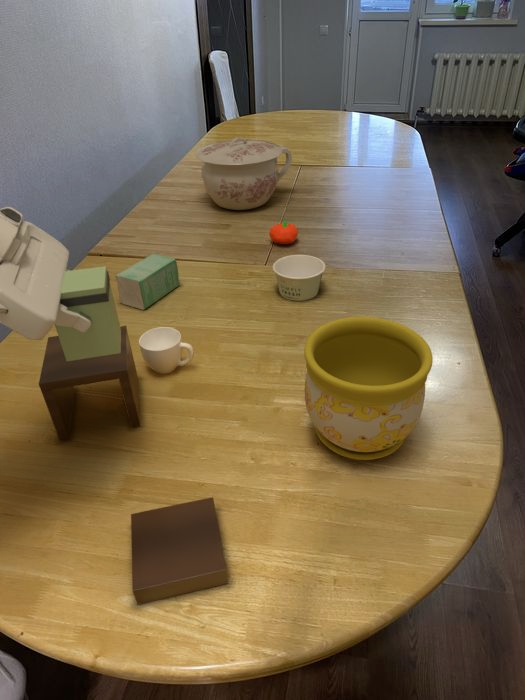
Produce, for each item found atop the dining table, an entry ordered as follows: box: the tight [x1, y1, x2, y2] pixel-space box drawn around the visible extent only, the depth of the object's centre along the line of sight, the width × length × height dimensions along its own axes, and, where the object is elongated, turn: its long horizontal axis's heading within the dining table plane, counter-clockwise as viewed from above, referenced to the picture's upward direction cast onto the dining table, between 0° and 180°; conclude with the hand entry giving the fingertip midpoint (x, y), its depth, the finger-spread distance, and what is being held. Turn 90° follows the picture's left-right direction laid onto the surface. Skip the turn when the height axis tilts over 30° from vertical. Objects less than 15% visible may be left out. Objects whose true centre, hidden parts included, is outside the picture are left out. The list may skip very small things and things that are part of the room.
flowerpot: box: [303, 316, 434, 461], centre depth 78 cm, size 18×18×16 cm
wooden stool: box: [38, 325, 141, 442], centre depth 87 cm, size 13×13×12 cm
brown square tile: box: [130, 496, 229, 605], centre depth 66 cm, size 11×11×3 cm
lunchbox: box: [54, 265, 121, 361], centre depth 68 cm, size 6×7×10 cm
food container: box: [272, 254, 326, 302], centre depth 120 cm, size 12×12×6 cm
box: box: [115, 253, 180, 311], centre depth 121 cm, size 7×14×8 cm, turn 150°
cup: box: [138, 326, 195, 375], centre depth 97 cm, size 8×10×7 cm
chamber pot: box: [194, 137, 293, 211], centre depth 165 cm, size 28×28×21 cm
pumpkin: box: [268, 220, 299, 245], centre depth 142 cm, size 7×8×6 cm
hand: (90, 310), depth 68 cm, fingers closed on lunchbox, 6 cm apart
